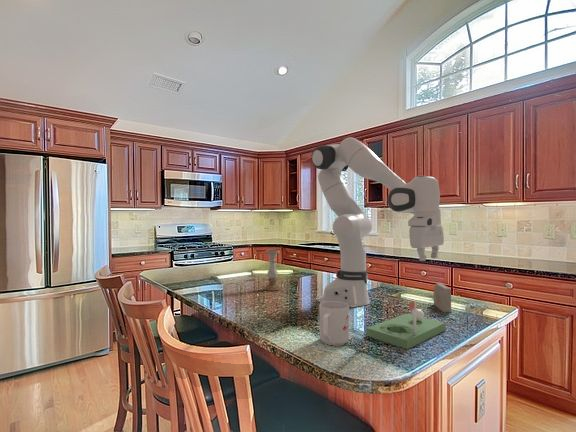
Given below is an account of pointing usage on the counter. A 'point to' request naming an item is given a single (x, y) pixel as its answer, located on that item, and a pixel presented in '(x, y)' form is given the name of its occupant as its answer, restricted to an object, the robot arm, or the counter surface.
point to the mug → (334, 322)
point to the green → (406, 329)
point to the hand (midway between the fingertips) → (428, 259)
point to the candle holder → (272, 272)
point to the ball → (419, 315)
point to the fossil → (442, 297)
